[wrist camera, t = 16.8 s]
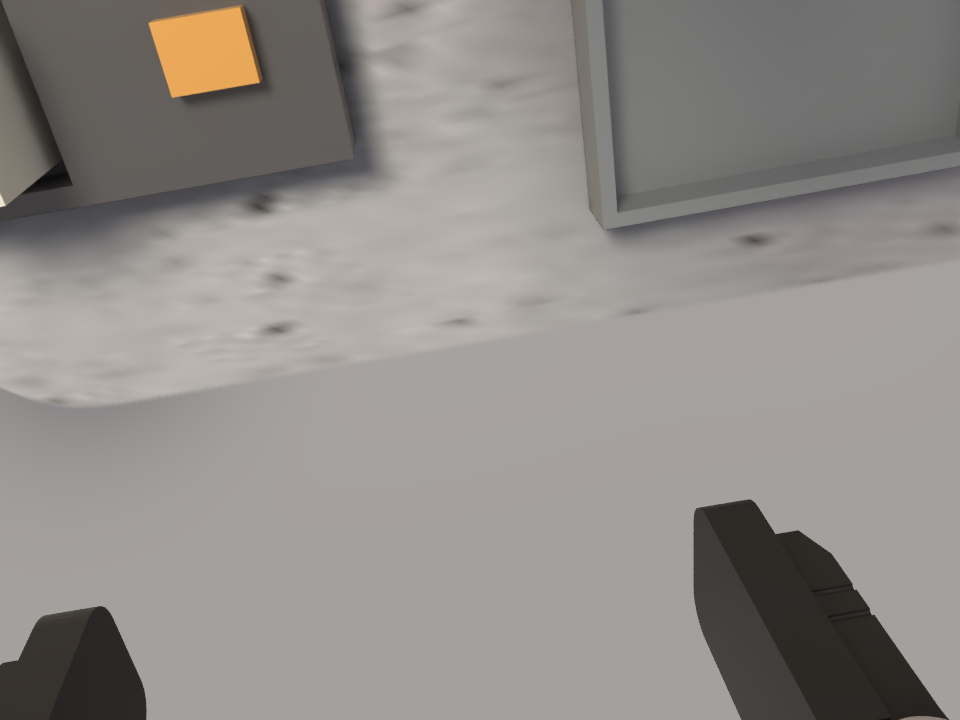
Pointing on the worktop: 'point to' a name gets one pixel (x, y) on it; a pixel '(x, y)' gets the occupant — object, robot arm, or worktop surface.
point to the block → (20, 122)
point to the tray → (760, 99)
